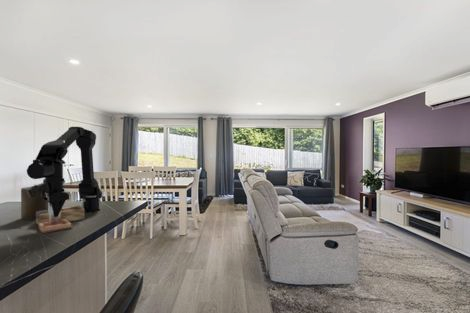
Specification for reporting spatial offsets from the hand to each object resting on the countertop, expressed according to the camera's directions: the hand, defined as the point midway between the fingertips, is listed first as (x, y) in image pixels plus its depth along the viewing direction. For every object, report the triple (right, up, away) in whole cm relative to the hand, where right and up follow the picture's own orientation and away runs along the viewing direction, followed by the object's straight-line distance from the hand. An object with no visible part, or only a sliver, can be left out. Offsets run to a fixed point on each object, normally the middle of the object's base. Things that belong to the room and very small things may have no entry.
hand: (54, 215), depth 99 cm
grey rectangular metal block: (-9, -2, +7) cm, 11 cm away
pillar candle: (-21, -5, +16) cm, 27 cm away
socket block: (-5, -5, +11) cm, 13 cm away
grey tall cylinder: (0, -3, 0) cm, 3 cm away
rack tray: (0, -5, 0) cm, 5 cm away
